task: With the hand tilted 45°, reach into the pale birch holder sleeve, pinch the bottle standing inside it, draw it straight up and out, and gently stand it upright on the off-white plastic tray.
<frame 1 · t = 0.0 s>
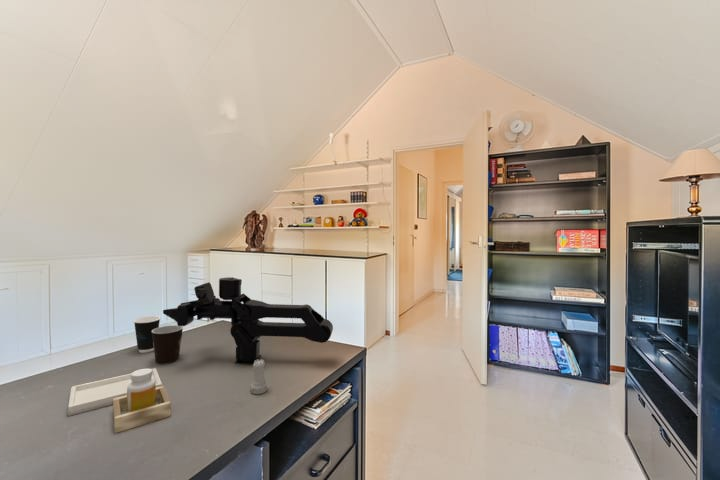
hand: (172, 308, 103), 17 cm above the table, tool horizontal, fingers open, 9 cm apart
supplement bottle: (141, 414, 72), resting in holder sleeve
dixie cup: (147, 350, 110), on the table
holder sleeve: (141, 413, 72), on the table
tray: (117, 392, 81), on the table
rook chess piece: (258, 391, 84), on the table
coffee mug: (170, 358, 103), on the table
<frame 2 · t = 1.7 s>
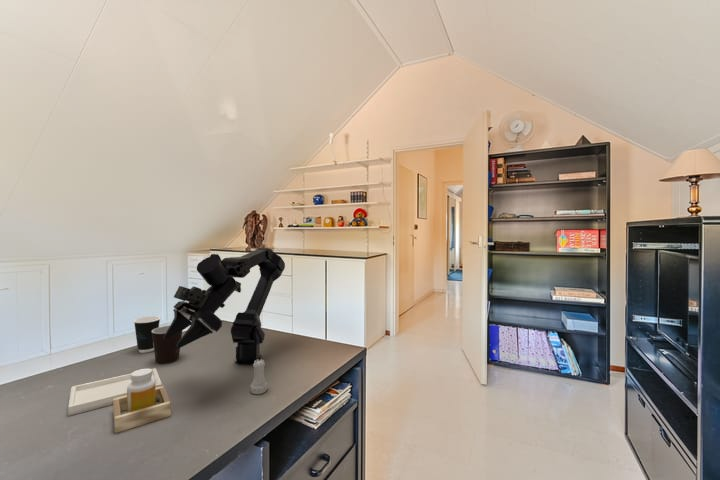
hand: (171, 342, 79), 14 cm above the table, tool tilted 50°, fingers open, 9 cm apart
nothing on the table moved.
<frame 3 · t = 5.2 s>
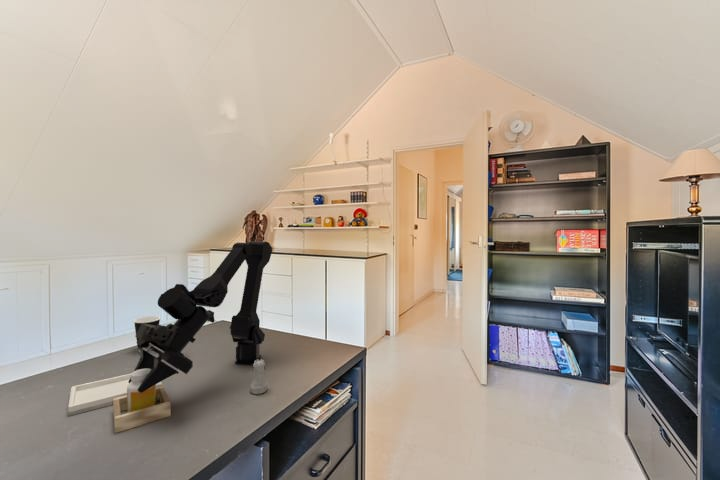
hand: (134, 387, 71), 7 cm above the table, tool tilted 45°, fingers closed on supplement bottle, 5 cm apart
supplement bottle: (141, 414, 72), resting in holder sleeve, touching gripper
everything else where it was.
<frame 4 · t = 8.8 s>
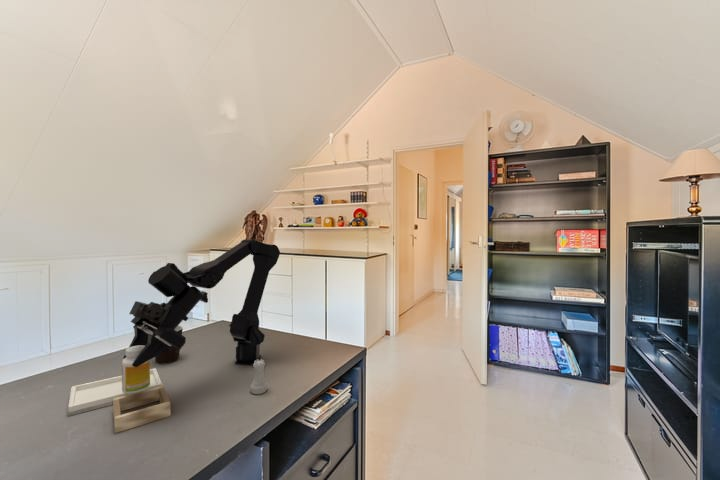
hand: (129, 362, 73), 11 cm above the table, tool tilted 45°, fingers closed on supplement bottle, 5 cm apart
supplement bottle: (136, 389, 74), point 4 cm above the table, touching gripper
everything else where it was.
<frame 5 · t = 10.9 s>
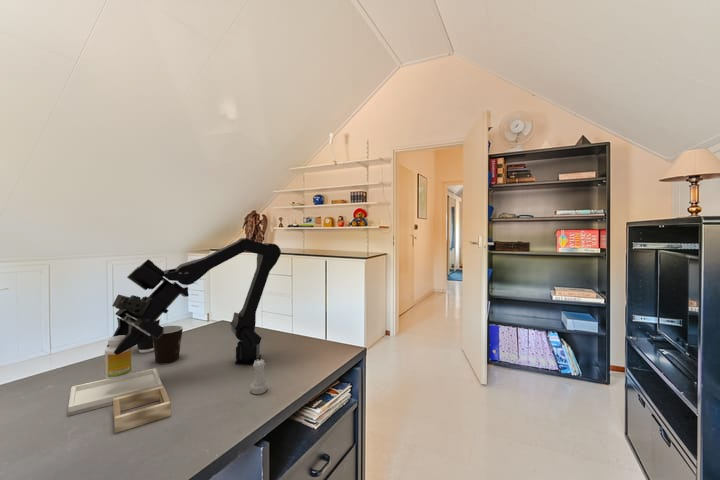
hand: (111, 351, 80), 11 cm above the table, tool tilted 45°, fingers closed on supplement bottle, 5 cm apart
supplement bottle: (118, 375, 81), point 4 cm above the table, touching gripper
everything else where it was.
when the fingers open (8 cm above the table, at t = 12.7 s): supplement bottle stays where it is, resting on tray.
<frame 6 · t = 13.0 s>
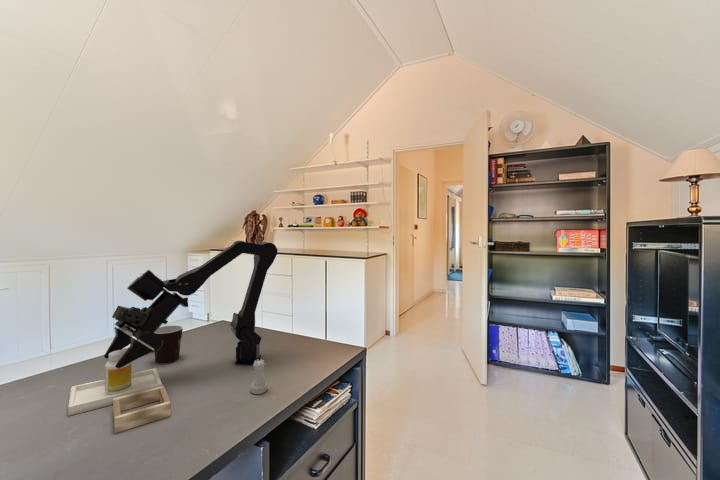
hand: (110, 362, 80), 8 cm above the table, tool tilted 45°, fingers open, 9 cm apart
supplement bottle: (118, 390, 81), point 1 cm above the table, touching tray
everything else where it was.
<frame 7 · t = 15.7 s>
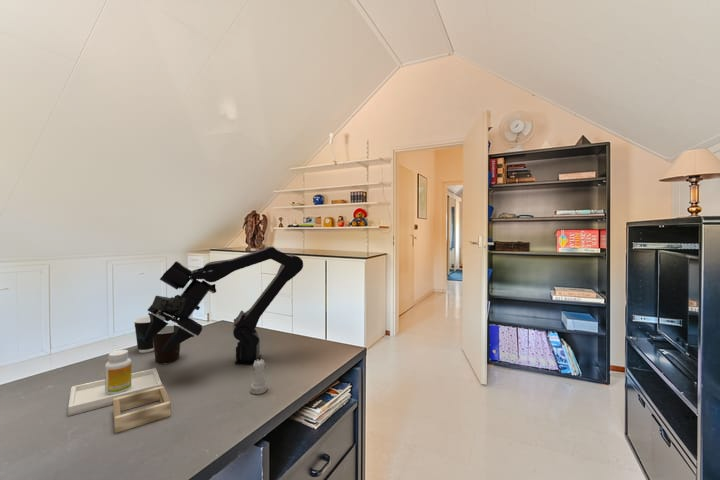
hand: (153, 346, 87), 10 cm above the table, tool tilted 40°, fingers open, 9 cm apart
nothing on the table moved.
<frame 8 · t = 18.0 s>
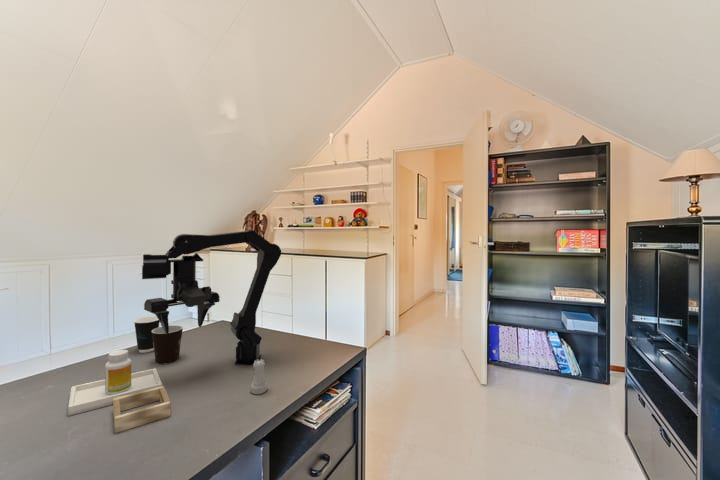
hand: (184, 330, 92), 13 cm above the table, tool pointing down, fingers open, 9 cm apart
nothing on the table moved.
at the end: supplement bottle inside the target area on the tray (0.2 cm from its centre), point 0.6 cm above the tray's base; supplement bottle tilted 0°; the gripper is holding nothing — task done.
